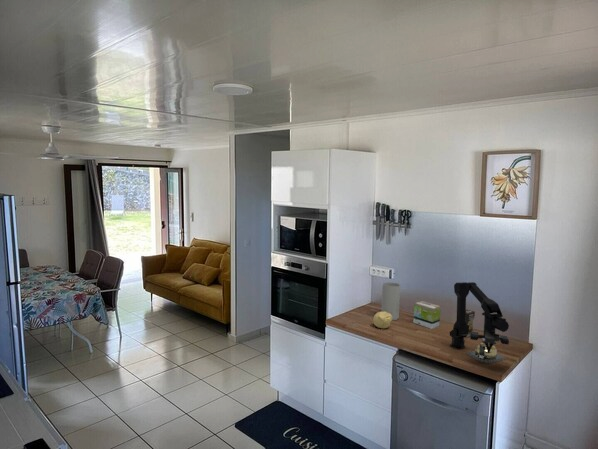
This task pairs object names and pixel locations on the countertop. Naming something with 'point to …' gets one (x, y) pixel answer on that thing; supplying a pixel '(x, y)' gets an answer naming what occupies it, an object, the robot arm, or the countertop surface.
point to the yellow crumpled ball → (382, 319)
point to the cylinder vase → (391, 299)
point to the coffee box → (470, 320)
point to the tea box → (426, 314)
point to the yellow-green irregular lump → (485, 351)
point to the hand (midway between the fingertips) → (488, 353)
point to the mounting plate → (485, 360)
